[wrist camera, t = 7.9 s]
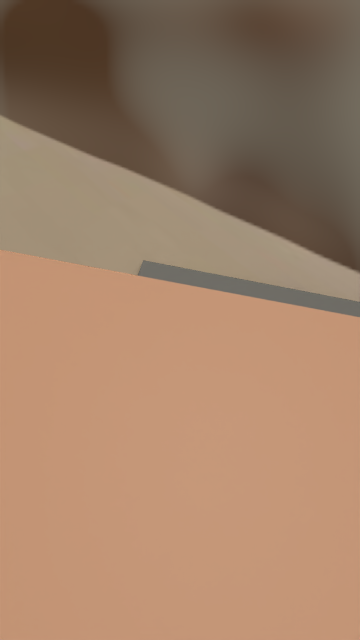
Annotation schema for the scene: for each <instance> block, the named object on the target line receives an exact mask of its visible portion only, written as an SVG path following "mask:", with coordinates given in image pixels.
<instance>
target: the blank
mask: <svg viewBox="0 0 360 640" xmlns="http://www.w3.org/2000/svg"><path fill="white" fill-rule="evenodd" d="M0 640H360V317H356V316H350V315H345V314H340V313H334V312H329V311H324V310H318V309H313V308H308V307H302V306H297V305H292V304H286V303H281V302H276V301H270V300H265V299H260V298H254V297H249V296H244V295H238V294H233V293H228V292H222V291H217V290H212V289H206V288H201V287H196V286H190V285H185V284H180V283H174V282H169V281H164V280H159V279H153V278H148V277H143V276H137V275H132V274H127V273H121V272H116V271H111V270H105V269H100V268H95V267H89V266H84V265H79V264H73V263H68V262H63V261H57V260H52V259H47V258H41V257H36V256H31V255H25V254H20V253H15V252H9V251H4V250H0Z"/></svg>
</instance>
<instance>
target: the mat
mask: <svg viewBox="0 0 360 640" xmlns="http://www.w3.org/2000/svg"><path fill="white" fill-rule="evenodd" d="M138 276H143V277H148V278H153V279H159V280H164V281H169V282H174V283H180V284H185V285H190V286H196V287H201V288H206V289H212V290H217V291H222V292H228V293H233V294H238V295H244V296H249V297H254V298H260V299H265V300H270V301H276V302H281V303H286V304H292V305H297V306H302V307H308V308H313V309H318V310H324V311H329V312H334V313H340V314H345V315H350V316H356V317H360V302H357V301H352V300H347V299H342V298H336V297H331V296H326V295H321V294H316V293H310V292H305V291H300V290H295V289H290V288H284V287H279V286H274V285H269V284H264V283H258V282H253V281H248V280H243V279H237V278H232V277H227V276H222V275H217V274H211V273H206V272H201V271H196V270H191V269H185V268H180V267H175V266H170V265H165V264H159V263H154V262H149V261H144V260H143V263H142V266H141V268H140V271H139V274H138Z"/></svg>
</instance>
